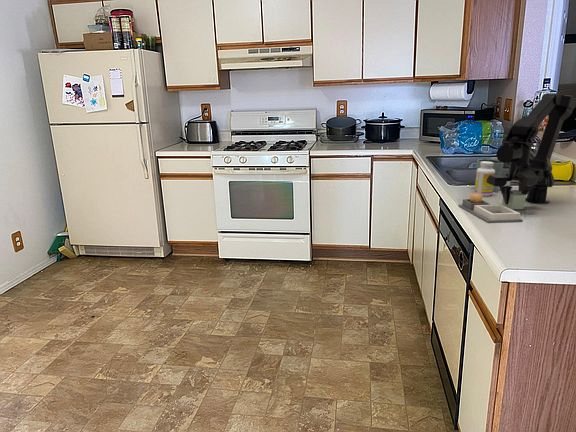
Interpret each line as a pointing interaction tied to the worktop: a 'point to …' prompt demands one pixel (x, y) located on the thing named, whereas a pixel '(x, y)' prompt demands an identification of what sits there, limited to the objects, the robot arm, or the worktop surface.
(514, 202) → the pale green block
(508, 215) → the chassis
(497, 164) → the drinking glass
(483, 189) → the supplement bottle
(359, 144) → the worktop surface
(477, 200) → the click button
